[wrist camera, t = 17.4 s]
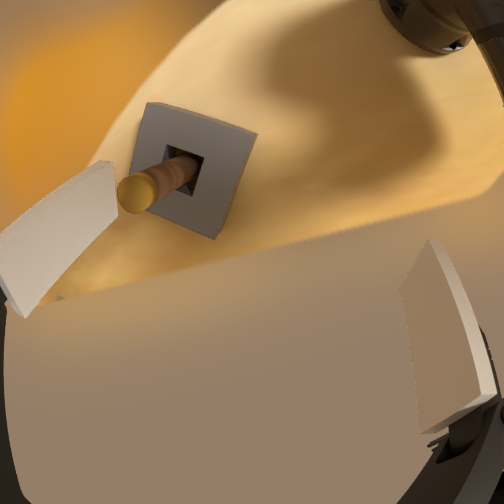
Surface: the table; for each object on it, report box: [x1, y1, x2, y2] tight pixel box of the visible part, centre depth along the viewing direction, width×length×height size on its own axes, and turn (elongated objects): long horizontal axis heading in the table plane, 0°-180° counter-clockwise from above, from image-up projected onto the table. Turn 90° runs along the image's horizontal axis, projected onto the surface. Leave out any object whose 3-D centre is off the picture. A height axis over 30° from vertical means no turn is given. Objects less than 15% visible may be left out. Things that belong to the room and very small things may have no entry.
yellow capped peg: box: [117, 152, 203, 214], centre depth 33 cm, size 4×4×16 cm
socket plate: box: [129, 102, 258, 240], centre depth 38 cm, size 16×16×4 cm
